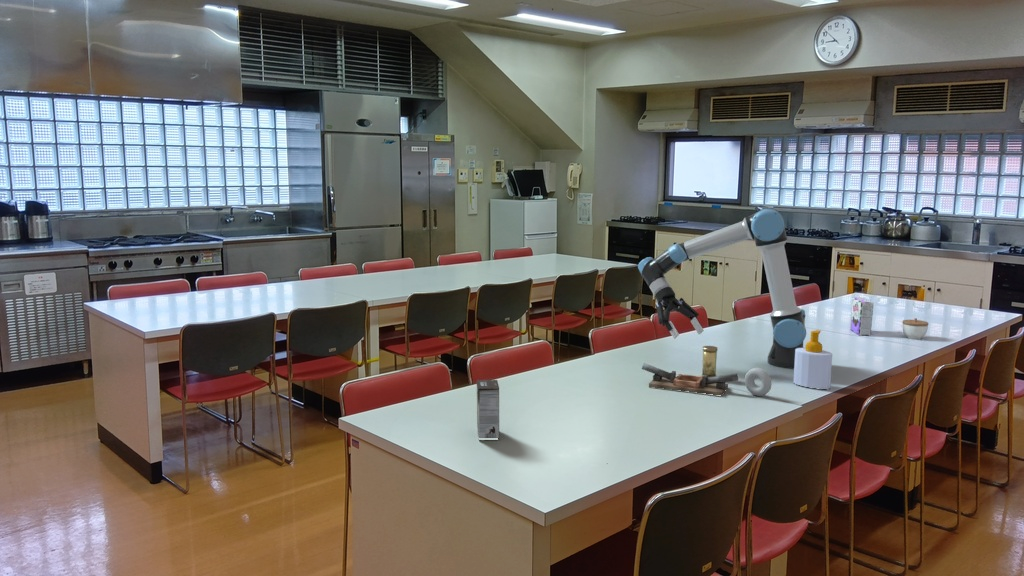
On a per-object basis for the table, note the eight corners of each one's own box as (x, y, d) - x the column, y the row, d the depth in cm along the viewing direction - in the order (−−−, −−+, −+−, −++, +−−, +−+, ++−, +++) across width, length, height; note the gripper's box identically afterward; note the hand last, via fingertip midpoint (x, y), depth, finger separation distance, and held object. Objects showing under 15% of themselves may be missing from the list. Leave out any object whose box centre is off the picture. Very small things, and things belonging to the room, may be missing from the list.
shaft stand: (740, 389, 270) (741, 369, 269) (734, 398, 259) (735, 378, 258) (646, 377, 285) (647, 359, 284) (637, 385, 275) (637, 366, 274)
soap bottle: (834, 387, 273) (837, 332, 270) (825, 392, 267) (829, 336, 264) (798, 380, 282) (801, 327, 278) (789, 384, 276) (792, 331, 273)
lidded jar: (931, 340, 347) (933, 320, 345) (908, 340, 347) (909, 320, 345) (919, 335, 357) (921, 316, 356) (897, 335, 357) (898, 316, 356)
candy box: (849, 329, 370) (852, 296, 368) (862, 330, 369) (864, 297, 367) (858, 335, 357) (860, 301, 354) (871, 336, 356) (874, 302, 353)
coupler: (717, 377, 286) (718, 346, 284) (714, 380, 281) (715, 349, 279) (703, 375, 288) (704, 345, 286) (700, 379, 284) (701, 348, 282)
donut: (772, 397, 260) (774, 370, 259) (767, 399, 258) (769, 371, 256) (747, 391, 268) (748, 364, 266) (741, 393, 265) (743, 366, 264)
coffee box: (476, 430, 228) (476, 379, 225) (497, 430, 229) (497, 379, 226) (477, 441, 219) (477, 388, 217) (499, 440, 220) (499, 387, 217)
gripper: (679, 294, 311) (705, 336, 301) (634, 299, 297) (660, 344, 287) (689, 283, 305) (716, 325, 295) (644, 288, 292) (671, 333, 282)
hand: (689, 334), depth 291 cm, fingers open, 13 cm apart
